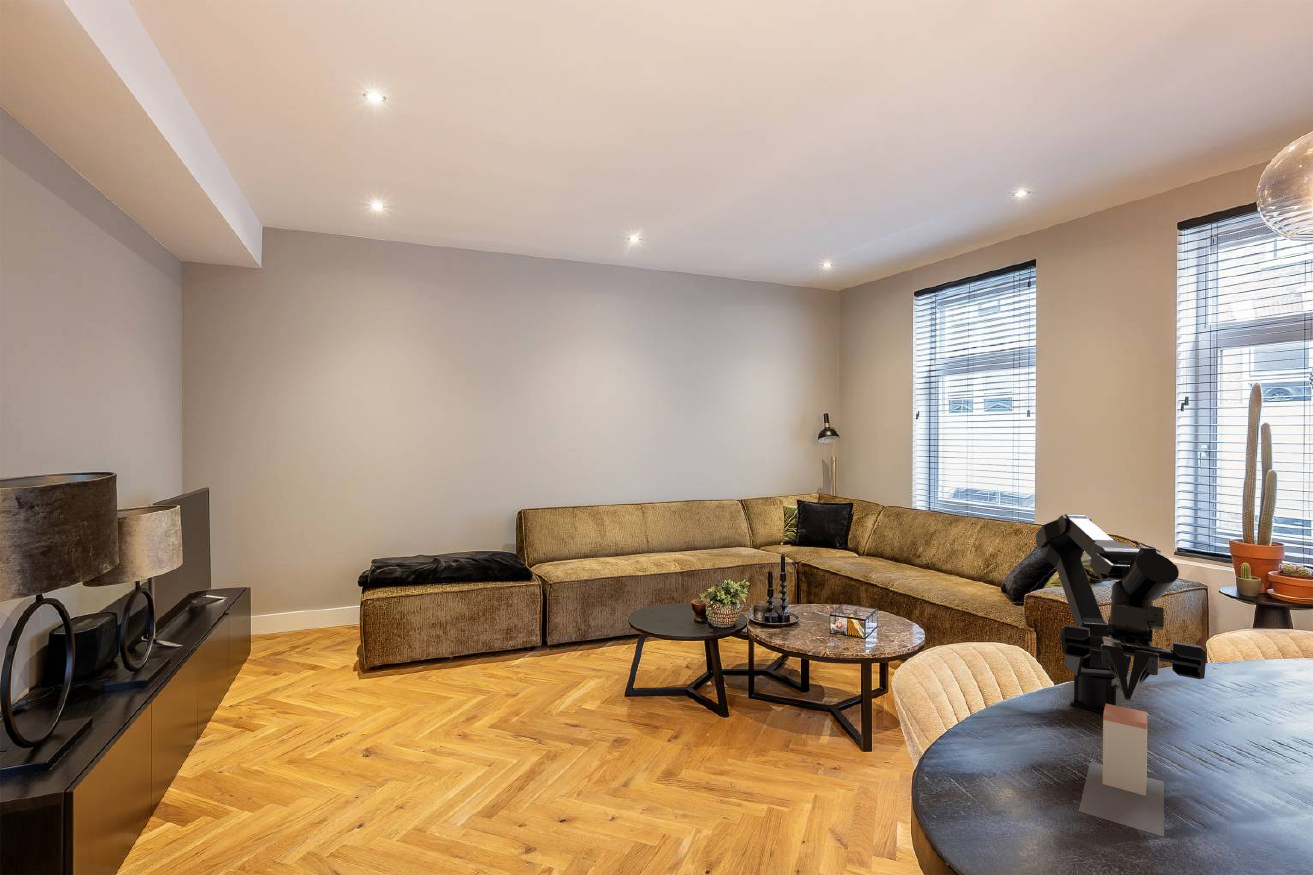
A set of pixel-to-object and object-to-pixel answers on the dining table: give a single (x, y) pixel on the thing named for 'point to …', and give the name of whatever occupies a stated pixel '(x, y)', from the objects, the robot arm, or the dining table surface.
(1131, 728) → the cream block
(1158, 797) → the charcoal mat
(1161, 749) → the dining table surface
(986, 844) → the dining table surface
